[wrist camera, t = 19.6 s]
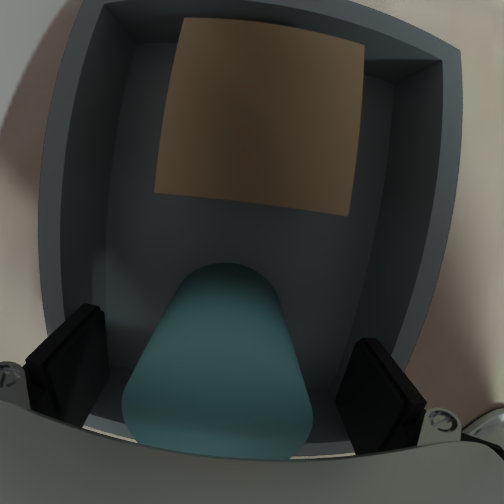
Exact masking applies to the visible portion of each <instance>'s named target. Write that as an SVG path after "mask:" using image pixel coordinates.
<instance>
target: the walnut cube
mask: <svg viewBox="0 0 504 504" xmlns="http://www.w3.org/2000/svg"><path fill="white" fill-rule="evenodd" d="M364 50H365V45H362V44H359V43H356V42H352V41H349V40H345V39H342V38H338V37H334V36H330V35H326V34H322V33H318V32H313V31H309V30H304V29H299V28H294V27H288V26H282V25H276V24H269V23H262V22H254V21H245V20H233V19H219V18H184V20H183V24H182V28H181V32H180V36H179V40H178V45H177V49H176V53H175V58H174V63H173V67H172V72H171V77H170V83H169V88H168V93H167V99H166V105H165V111H164V117H163V123H162V130H161V137H160V145H159V152H158V161H157V169H156V179H155V189H154V193H163V194H174V195H185V196H195V197H205V198H215V199H224V200H233V201H241V202H250V203H258V204H266V205H274V206H281V207H288V208H296V209H303V210H310V211H316V212H323V213H330V214H336V215H342V216H348V214H349V208H350V202H351V195H352V188H353V181H354V173H355V166H356V157H357V149H358V140H359V130H360V119H361V107H362V93H363V76H364Z"/></svg>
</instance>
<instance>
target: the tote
mask: <svg viewBox="0 0 504 504" xmlns="http://www.w3.org/2000/svg"><path fill="white" fill-rule="evenodd" d="M184 18H219V19H233V20H245V21H254V22H262V23H269V24H276V25H282V26H288V27H294V28H299V29H304V30H309V31H313V32H318V33H322V34H326V35H330V36H334V37H338V38H342V39H345V40H349V41H352V42H356V43H359V44H362V45H365V50H364V76H363V93H362V107H361V119H360V130H359V140H358V149H357V157H356V166H355V173H354V181H353V188H352V195H351V202H350V208H349V214H348V216H342V215H336V214H330V213H323V212H316V211H310V210H303V209H296V208H288V207H281V206H274V205H266V204H258V203H250V202H241V201H233V200H224V199H215V198H205V197H195V196H185V195H174V194H163V193H154V189H155V179H156V169H157V161H158V152H159V145H160V137H161V130H162V123H163V117H164V111H165V105H166V99H167V93H168V88H169V83H170V77H171V72H172V67H173V63H174V58H175V53H176V49H177V45H178V40H179V36H180V32H181V28H182V24H183V20H184ZM462 114H463V90H462V66H461V53H460V50H459V49H457V48H455V47H453V46H452V45H450V44H448V43H446V42H445V41H443V40H441V39H439V38H437V37H435V36H433V35H431V34H430V33H428V32H426V31H424V30H421V29H419V28H417V27H415V26H413V25H411V24H409V23H406V22H404V21H402V20H400V19H397V18H395V17H393V16H390V15H388V14H385V13H383V12H380V11H377V10H375V9H372V8H369V7H366V6H363V5H360V4H357V3H354V2H351V1H348V0H84V1H83V3H82V5H81V8H80V10H79V13H78V15H77V18H76V20H75V23H74V25H73V28H72V31H71V34H70V37H69V39H68V42H67V45H66V48H65V52H64V55H63V58H62V62H61V65H60V69H59V72H58V76H57V80H56V84H55V88H54V92H53V96H52V101H51V106H50V111H49V116H48V121H47V127H46V133H45V140H44V147H43V155H42V164H41V174H40V188H39V209H38V247H39V268H40V281H41V292H42V301H43V309H44V316H45V323H46V329H47V335H48V336H49V335H51V334H52V333H53V332H54V331H55V330H56V329H57V328H58V327H59V326H60V325H61V324H62V323H63V322H64V321H65V320H66V319H67V318H68V317H70V316H71V315H72V314H73V313H74V312H75V311H76V310H77V309H78V308H79V307H80V306H81V305H83V304H84V303H88V304H92V305H97V306H99V307H100V309H101V310H102V311H104V313H105V326H106V339H107V350H108V359H109V368H110V376H109V379H108V381H107V383H106V385H105V387H104V388H103V390H102V392H101V394H100V395H99V397H98V399H97V401H96V403H95V405H94V406H93V408H92V410H91V412H90V414H89V416H88V417H87V419H86V421H85V423H84V425H85V426H88V427H91V428H94V429H98V430H101V431H104V432H108V433H112V434H115V435H119V436H123V437H127V438H131V439H135V438H134V437H133V436H132V435H131V433H130V431H129V430H128V428H127V426H126V424H125V421H124V418H123V414H122V396H123V392H124V390H125V387H126V385H127V383H128V381H129V379H130V377H131V375H132V373H133V371H134V369H135V367H136V365H137V363H138V361H139V359H140V357H141V356H142V354H143V352H144V350H145V348H146V346H147V344H148V342H149V340H150V338H151V336H152V335H153V333H154V331H155V329H156V327H157V325H158V323H159V322H160V320H161V318H162V316H163V314H164V312H165V310H166V309H167V307H168V305H169V303H170V301H171V300H172V298H173V296H174V294H175V292H176V291H177V289H178V287H179V286H180V284H181V283H182V282H183V280H184V279H185V278H186V277H187V276H189V275H190V274H191V273H192V272H194V271H196V270H197V269H199V268H201V267H204V266H206V265H210V264H215V263H236V264H240V265H243V266H246V267H249V268H251V269H253V270H255V271H257V272H258V273H259V274H261V275H262V276H263V277H264V278H266V279H267V280H268V281H269V283H270V284H271V285H272V286H273V288H274V290H275V291H276V293H277V296H278V298H279V301H280V305H281V308H282V311H283V314H284V318H285V321H286V324H287V327H288V331H289V334H290V337H291V340H292V344H293V347H294V350H295V354H296V357H297V360H298V363H299V367H300V370H301V373H302V377H303V380H304V383H305V387H306V390H307V393H308V397H309V400H310V404H311V407H312V411H313V424H312V429H311V432H310V434H309V437H308V438H307V440H306V442H305V443H304V445H303V446H302V447H301V448H300V450H299V451H298V452H297V453H295V454H294V455H293V456H318V455H333V454H344V453H354V452H355V451H354V449H353V446H352V444H351V441H350V439H349V436H348V434H347V431H346V429H345V426H344V424H343V421H342V419H341V416H340V414H339V412H338V409H337V407H336V403H335V399H336V395H337V392H338V390H339V387H340V384H341V382H342V379H343V376H344V374H345V371H346V368H347V365H348V362H349V360H350V357H351V354H352V351H353V348H354V345H355V343H356V342H357V341H359V340H360V339H361V338H377V339H378V340H379V342H380V343H381V344H382V345H383V347H384V348H385V349H386V350H387V352H388V353H389V354H390V355H391V357H392V358H393V359H394V361H395V362H396V363H397V364H398V366H399V367H400V368H401V369H402V371H403V372H404V371H405V369H406V367H407V364H408V362H409V360H410V357H411V355H412V352H413V350H414V347H415V345H416V342H417V339H418V337H419V334H420V331H421V329H422V326H423V323H424V320H425V317H426V314H427V312H428V308H429V305H430V302H431V299H432V296H433V293H434V289H435V286H436V282H437V279H438V275H439V272H440V268H441V264H442V260H443V256H444V252H445V248H446V243H447V239H448V234H449V229H450V224H451V219H452V214H453V208H454V202H455V195H456V189H457V181H458V173H459V164H460V153H461V139H462Z"/></svg>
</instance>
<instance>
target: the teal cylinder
mask: <svg viewBox="0 0 504 504" xmlns="http://www.w3.org/2000/svg"><path fill="white" fill-rule="evenodd" d="M122 414H123V418H124V421H125V424H126V426H127V428H128V430H129V431H130V433H131V435H132V436H133V437H134V438H135V440H136V441H137V442H138V443H139V444H143V445H148V446H153V447H158V448H163V449H169V450H175V451H181V452H188V453H195V454H203V455H211V456H221V457H233V458H249V459H289V458H291V457H292V456H293V455H294V454H295V453H297V452H298V451H299V450H300V448H301V447H302V446H303V445H304V443H305V442H306V440H307V438H308V437H309V434H310V432H311V429H312V424H313V411H312V407H311V404H310V400H309V397H308V393H307V390H306V387H305V383H304V380H303V377H302V373H301V370H300V367H299V363H298V360H297V357H296V354H295V350H294V347H293V344H292V340H291V337H290V334H289V331H288V327H287V324H286V321H285V318H284V314H283V311H282V308H281V305H280V301H279V298H278V296H277V293H276V291H275V290H274V288H273V286H272V285H271V284H270V283H269V281H268V280H267V279H266V278H264V277H263V276H262V275H261V274H259V273H258V272H257V271H255V270H253V269H251V268H249V267H246V266H243V265H240V264H236V263H215V264H210V265H206V266H204V267H201V268H199V269H197V270H196V271H194V272H192V273H191V274H190V275H189V276H187V277H186V278H185V279H184V280H183V282H182V283H181V284H180V286H179V287H178V289H177V291H176V292H175V294H174V296H173V298H172V300H171V301H170V303H169V305H168V307H167V309H166V310H165V312H164V314H163V316H162V318H161V320H160V322H159V323H158V325H157V327H156V329H155V331H154V333H153V335H152V336H151V338H150V340H149V342H148V344H147V346H146V348H145V350H144V352H143V354H142V356H141V357H140V359H139V361H138V363H137V365H136V367H135V369H134V371H133V373H132V375H131V377H130V379H129V381H128V383H127V385H126V387H125V390H124V392H123V396H122Z"/></svg>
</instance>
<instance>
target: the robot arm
mask: <svg viewBox="0 0 504 504" xmlns="http://www.w3.org/2000/svg"><path fill="white" fill-rule="evenodd" d="M25 361H26V364H25V365H24V366H23V367H21V366H20V365H19V364H17V363H14V362H10V361H4V362H0V504H504V408H501V409H497V410H494V411H491V412H489V413H488V414H486V415H484V416H482V417H481V418H479V419H478V420H476V421H475V422H473V423H472V424H471V425H469V426H468V427H467V428H465V429H464V430H463V431H462V432H461V421H460V420H459V418H458V417H457V416H456V415H455V414H454V413H453V412H451V411H449V410H447V409H444V408H431V409H429V410H428V411H427V412H426V411H425V409H424V407H425V405H426V403H427V402H426V401H425V399H424V398H423V397H422V395H421V394H420V393H419V391H418V390H417V389H416V388H415V386H414V385H413V384H412V382H411V381H410V380H409V378H408V377H407V376H406V375H405V373H404V372H403V371H402V369H401V368H400V367H399V366H398V364H397V363H396V362H395V361H394V359H393V358H392V357H391V355H390V354H389V353H388V352H387V350H386V349H385V348H384V347H383V345H382V344H381V343H380V342H379V340H378V339H377V338H361V339H360V340H359V341H357V342H356V343H355V345H354V348H353V351H352V354H351V357H350V360H349V362H348V365H347V368H346V371H345V374H344V376H343V379H342V382H341V384H340V387H339V390H338V392H337V395H336V399H335V403H336V407H337V409H338V412H339V414H340V416H341V419H342V421H343V424H344V426H345V429H346V431H347V434H348V436H349V439H350V441H351V444H352V446H353V449H354V451H355V454H356V455H353V456H343V457H332V458H316V459H249V458H233V457H221V456H211V455H203V454H195V453H188V452H181V451H175V450H169V449H163V448H158V447H153V446H148V445H143V444H139V443H134V442H130V441H126V440H122V439H118V438H114V437H111V436H107V435H104V434H100V433H97V432H93V431H90V430H87V429H84V428H82V427H83V425H84V423H85V421H86V419H87V417H88V416H89V414H90V412H91V410H92V408H93V406H94V405H95V403H96V401H97V399H98V397H99V395H100V394H101V392H102V390H103V388H104V387H105V385H106V383H107V381H108V379H109V376H110V368H109V359H108V350H107V339H106V326H105V313H104V311H102V310H101V309H100V307H99V306H97V305H92V304H88V303H84V304H83V305H81V306H80V307H79V308H78V309H77V310H76V311H75V312H74V313H73V314H72V315H71V316H70V317H68V318H67V319H66V320H65V321H64V322H63V323H62V324H61V325H60V326H59V327H58V328H57V329H56V330H55V331H54V332H53V333H52V334H51V335H49V336H48V337H47V338H46V339H45V340H44V341H43V342H42V343H41V344H40V345H39V346H38V347H37V348H36V349H35V350H34V351H33V352H32V353H31V354H30V355H29V356H28V357H27V358H26V359H25Z"/></svg>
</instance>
